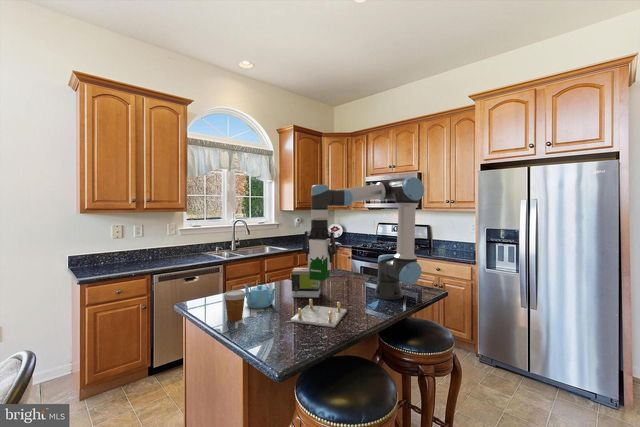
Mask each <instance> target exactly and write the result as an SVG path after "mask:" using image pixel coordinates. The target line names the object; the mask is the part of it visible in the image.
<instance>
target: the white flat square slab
mask: <svg viewBox="0 0 640 427" xmlns="http://www.w3.org/2000/svg"><path fill="white" fill-rule="evenodd" d="M346 313H347V309H346V308H341V301H336V307H328V306H322V305H321V306H320V305H313V298H309V299H308V304H307V305H305V306H304V307H303V308H302V307H298V308H297V313H296V314H295V315H293V317H291V319H290V323H297V324H305V325H306V324H307V325H311V326H320V327H327V328H328V327H329V328H336V326H337V325H338V324H339V322H340V321H341V320H342V319H343V317H344V316H345V314H346Z"/></svg>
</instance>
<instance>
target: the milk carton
mask: <svg viewBox="0 0 640 427" xmlns="http://www.w3.org/2000/svg"><path fill="white" fill-rule="evenodd" d="M311 239H312V238H309V240H308V246H309V248H310V250H309V279H310V280H320V282H325V281H326V280H328V279H329V278H330V270H331V269H330V270H327V267H328V255H329V253H328V245H330V246H331V240H330V238H327V239H326V240H322V239H321V240H317V239H314V240H311Z"/></svg>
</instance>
